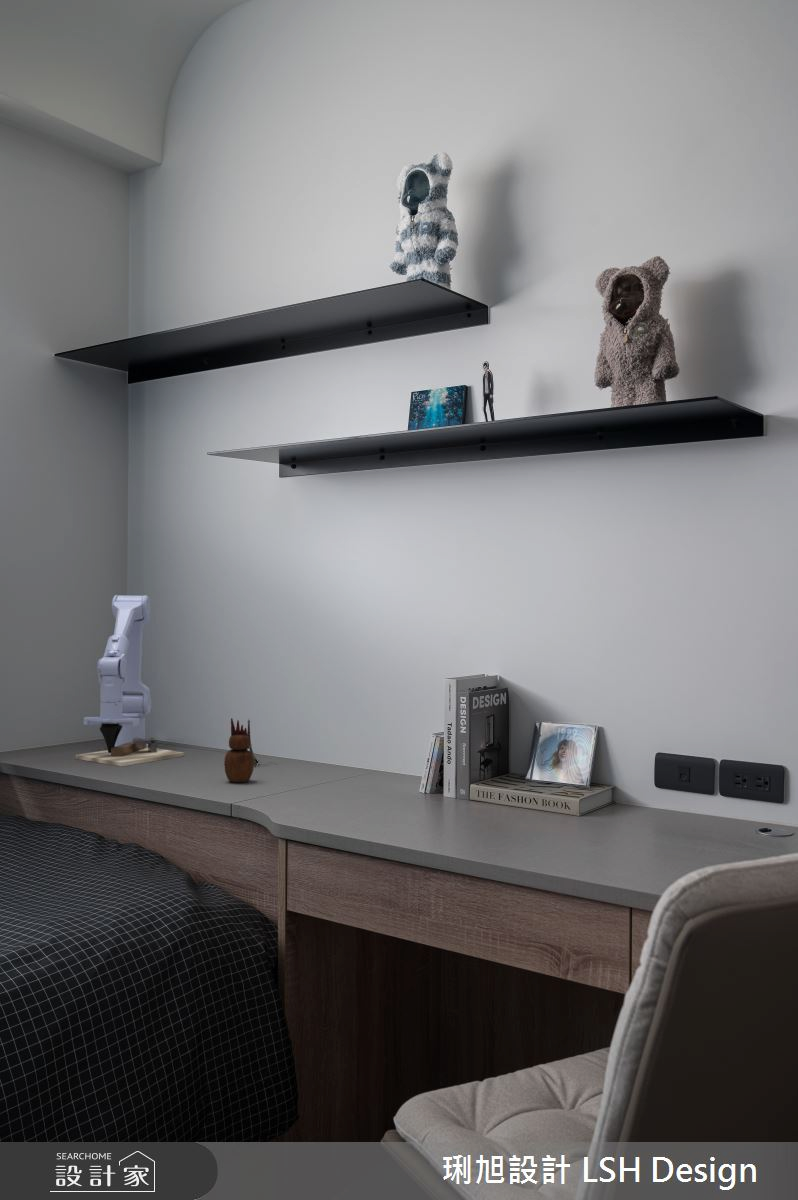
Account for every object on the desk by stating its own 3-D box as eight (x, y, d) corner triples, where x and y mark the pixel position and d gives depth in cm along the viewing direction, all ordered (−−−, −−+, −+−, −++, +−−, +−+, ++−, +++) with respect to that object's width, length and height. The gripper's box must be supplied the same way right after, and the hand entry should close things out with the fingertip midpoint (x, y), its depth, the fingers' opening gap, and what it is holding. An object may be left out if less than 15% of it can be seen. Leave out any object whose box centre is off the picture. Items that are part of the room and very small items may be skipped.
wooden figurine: (220, 782, 226) (220, 719, 226) (231, 778, 232) (232, 716, 232) (246, 784, 224) (247, 720, 224) (257, 780, 230) (257, 717, 230)
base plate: (75, 758, 258) (75, 754, 258) (139, 749, 275) (139, 745, 275) (121, 766, 247) (121, 762, 247) (184, 756, 264) (184, 752, 264)
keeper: (131, 751, 265) (132, 739, 265) (154, 750, 267) (154, 738, 267) (134, 753, 261) (134, 741, 261) (156, 752, 264) (156, 740, 264)
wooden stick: (135, 746, 272) (135, 736, 272) (146, 747, 272) (146, 736, 272) (110, 755, 256) (110, 744, 256) (122, 756, 256) (122, 744, 256)
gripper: (79, 702, 254) (78, 753, 254) (132, 703, 253) (132, 755, 253) (89, 699, 261) (89, 749, 261) (141, 700, 260) (141, 751, 260)
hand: (111, 752), depth 258 cm, fingers closed
